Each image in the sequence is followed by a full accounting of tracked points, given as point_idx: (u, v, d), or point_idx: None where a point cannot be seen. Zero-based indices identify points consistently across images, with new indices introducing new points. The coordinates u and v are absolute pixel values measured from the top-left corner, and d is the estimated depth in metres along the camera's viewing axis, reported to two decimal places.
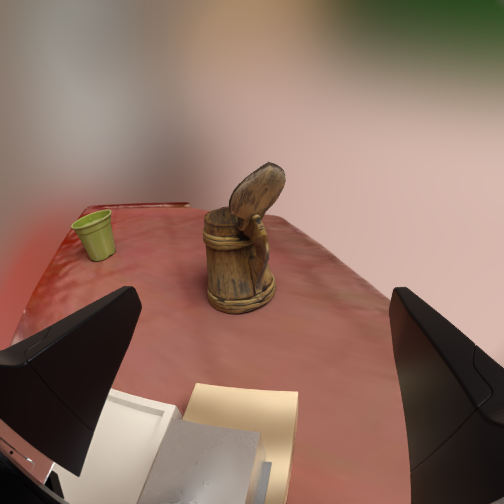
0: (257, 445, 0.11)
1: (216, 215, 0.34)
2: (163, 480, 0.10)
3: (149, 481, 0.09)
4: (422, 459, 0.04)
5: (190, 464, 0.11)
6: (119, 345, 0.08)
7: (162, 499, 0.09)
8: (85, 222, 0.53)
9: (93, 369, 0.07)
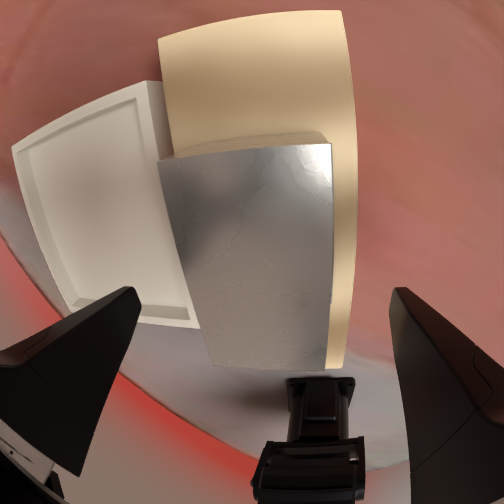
0: (330, 172, 0.07)
1: None
2: (206, 275, 0.09)
3: (189, 282, 0.10)
4: (422, 459, 0.04)
5: (229, 237, 0.09)
6: (119, 345, 0.08)
7: (219, 300, 0.10)
8: None
9: (93, 369, 0.07)
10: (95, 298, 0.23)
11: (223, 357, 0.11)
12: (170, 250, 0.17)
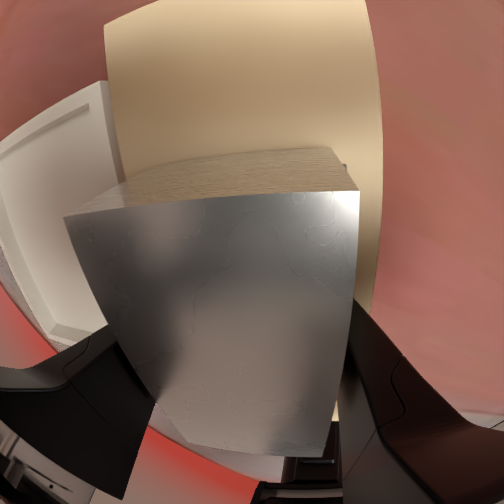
0: (355, 245, 0.04)
1: None
2: (158, 371, 0.06)
3: (140, 373, 0.06)
4: (347, 469, 0.05)
5: (181, 335, 0.05)
6: None
7: (181, 396, 0.06)
8: None
9: (140, 382, 0.07)
10: (72, 326, 0.20)
11: (197, 438, 0.08)
12: None
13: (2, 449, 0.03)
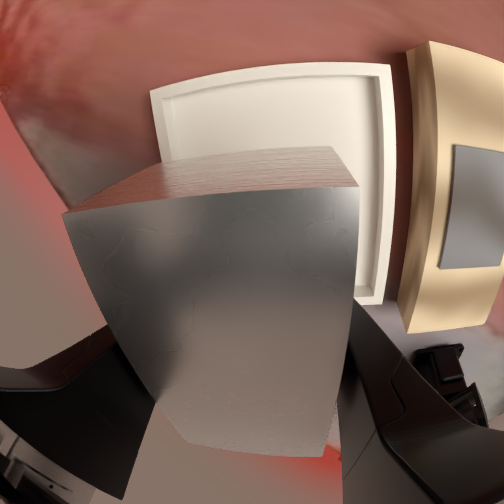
0: (355, 242, 0.04)
1: None
2: (157, 369, 0.06)
3: (139, 372, 0.06)
4: (347, 469, 0.05)
5: (180, 333, 0.05)
6: None
7: (180, 395, 0.06)
8: None
9: (140, 382, 0.07)
10: None
11: (197, 438, 0.08)
12: (383, 224, 0.17)
13: (2, 449, 0.03)
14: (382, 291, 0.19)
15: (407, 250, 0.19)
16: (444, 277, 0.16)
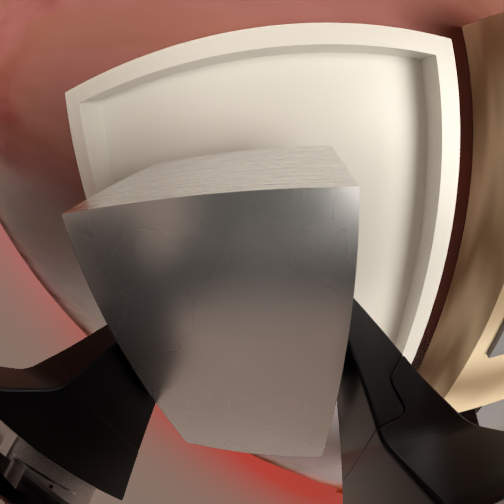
0: (356, 242, 0.04)
1: None
2: (157, 369, 0.06)
3: (139, 372, 0.06)
4: (347, 469, 0.05)
5: (180, 333, 0.05)
6: None
7: (180, 395, 0.06)
8: None
9: (140, 382, 0.07)
10: None
11: (197, 438, 0.08)
12: (422, 297, 0.10)
13: (2, 449, 0.03)
14: None
15: (443, 317, 0.12)
16: (489, 363, 0.09)
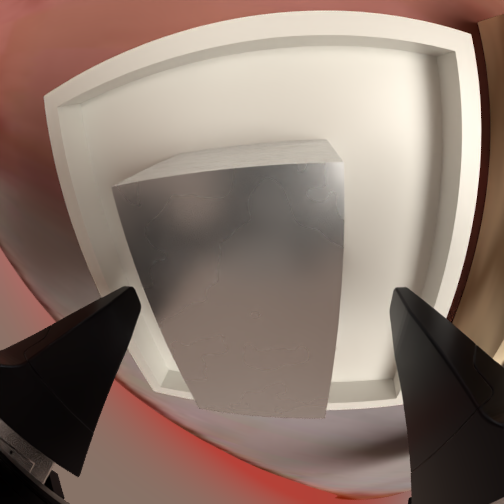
0: (343, 202, 0.05)
1: None
2: (182, 324, 0.07)
3: (164, 329, 0.08)
4: (422, 459, 0.04)
5: (207, 283, 0.07)
6: (119, 345, 0.08)
7: (200, 351, 0.08)
8: None
9: (93, 369, 0.07)
10: None
11: (210, 402, 0.09)
12: None
13: None
14: None
15: None
16: None
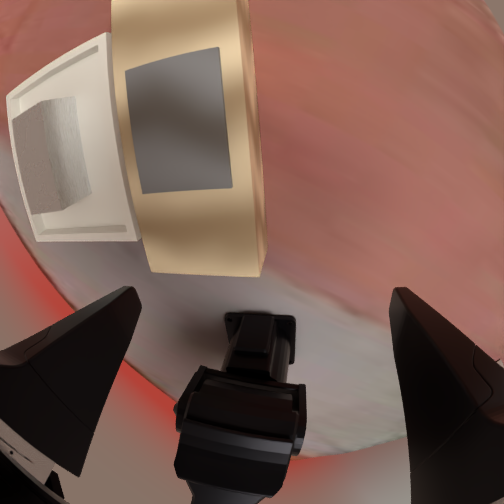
0: (42, 110, 0.14)
1: None
2: (22, 160, 0.16)
3: (19, 165, 0.16)
4: (422, 459, 0.04)
5: (25, 142, 0.15)
6: (119, 345, 0.08)
7: (26, 172, 0.17)
8: None
9: (93, 369, 0.07)
10: (58, 227, 0.24)
11: (32, 207, 0.18)
12: (111, 161, 0.18)
13: None
14: (132, 227, 0.20)
15: None
16: (157, 204, 0.17)
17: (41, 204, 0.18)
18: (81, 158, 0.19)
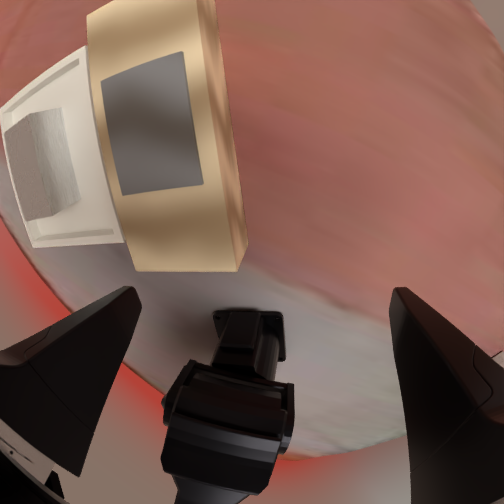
0: (31, 122, 0.15)
1: None
2: (15, 170, 0.17)
3: (12, 175, 0.17)
4: (422, 459, 0.04)
5: (17, 153, 0.16)
6: (119, 345, 0.08)
7: (19, 181, 0.17)
8: None
9: (93, 369, 0.07)
10: (52, 233, 0.25)
11: (26, 214, 0.19)
12: (96, 166, 0.18)
13: None
14: (118, 229, 0.21)
15: None
16: (136, 205, 0.17)
17: (34, 211, 0.19)
18: (69, 166, 0.20)
